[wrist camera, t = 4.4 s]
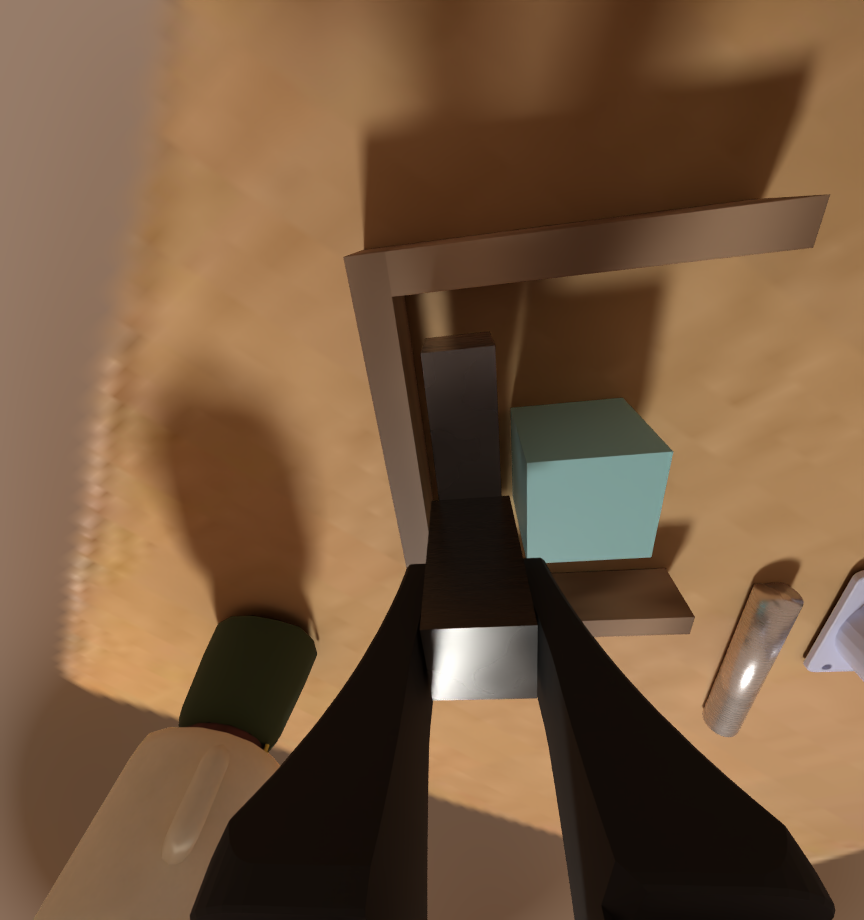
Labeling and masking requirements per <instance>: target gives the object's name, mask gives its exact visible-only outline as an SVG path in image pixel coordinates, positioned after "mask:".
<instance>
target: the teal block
mask: <svg viewBox="0 0 864 920" xmlns="http://www.w3.org/2000/svg"><path fill="white" fill-rule="evenodd" d="M510 410H511V451H512V492H513V500H514V504H515V509H516V514H517V519H518V523H519V528H520V533H521V537H522V542H523V547H524V551H525V556H526V558H540V557H541V558H542V559H543V560H545V563H554V562H573V561H592V560H610V559H629V558H648V557H651V556H652V551H653V546H654V542H655V537H656V532H657V527H658V522H659V518H660V513H661V508H662V503H663V498H664V494H665V489H666V484H667V479H668V474H669V470H670V465H671V460H672V455H673V451H672V450H671V449H670V448H669V446H668V445H667V444H666V443H665V442H664V441H663V440H662V439H661V438H660V437H659V436H658V435H657V434H656V433H655V432H654V431H653V429H652V428H651V427H650V426H649V425H648V424H647V423H646V422H645V421H644V420H643V419H642V418H641V417H640V416H639V415H638V413H637V412H636V411H635V410H634V409H633V408H632V407H631V406H630V405H629V404H628V403H627V402H626V401H625V400H624V399H623V398H613V399H602V400H591V401H580V402H569V403H558V404H547V405H536V406H525V407H514V408H510Z"/></svg>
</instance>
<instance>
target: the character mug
mask: <svg viewBox="0 0 864 920" xmlns="http://www.w3.org/2000/svg"><path fill="white" fill-rule="evenodd" d="M316 656H317V651H316V648H315V644H314V640H313V639H312V638H310V637H309V636H308V635H307V634H306V633H305V632H304V631H303V630H302V629H301V628H300V627H298V626H295V625H291V624H288V623H285V622H281V621H278V620H273V619H268V618H262V617H257V616H232V617H230V618H228V619H226V620H224V621H222V622H220V623H219V624H218V625H217V627H216V629H215V632H214V634H213V636H212V638H211V640H210V642H209V644H208V647H207V649H206V651H205V653H204V655H203V658H202V660H201V662H200V665H199V667H198V670H197V672H196V675H195V677H194V680H193V682H192V685H191V687H190V689H189V692H188V694H187V697H186V699H185V702H184V704H183V707H182V710H181V713H180V717H179V727H169V728H166V729H162V730H159V731H156V732H152V733H149V734H148V736H147V737H146V738H145V739H144V740H143V741H142V742H141V743H140V745H139V746H138V747H137V749H136V750H135V752H134V753H133V755H132V756H131V757H130V759H129V761H128V762H127V764H126V766H125V767H124V769H123V771H122V772H121V774H120V776H119V777H118V779H117V781H116V783H115V784H114V786H113V787H112V789H111V791H110V792H109V794H108V796H107V798H106V799H105V801H104V802H103V804H102V806H101V807H100V809H99V811H98V812H97V814H96V816H95V817H94V819H93V821H92V822H91V824H90V826H89V827H88V829H87V831H86V832H85V834H84V836H83V837H82V839H81V841H80V842H79V844H78V846H77V847H76V849H75V851H74V852H73V854H72V856H71V857H70V859H69V861H68V862H67V864H66V866H65V867H64V869H63V871H62V872H61V874H60V876H59V877H58V879H57V881H56V882H55V884H54V886H53V887H52V889H51V891H50V892H49V894H48V896H47V898H46V899H45V901H44V902H43V904H42V906H41V908H40V909H39V911H38V912H37V914H36V916H35V917H34V919H33V920H190V913H191V910H192V908H193V905H194V902H195V900H196V897H197V894H198V892H199V889H200V886H201V884H202V881H203V878H204V876H205V873H206V871H207V868H208V865H209V863H210V860H211V858H212V856H213V853H214V851H215V849H216V847H217V845H218V843H219V841H220V839H221V836H222V834H223V832H224V830H225V828H226V826H227V824H228V822H229V820H230V819H231V818H232V817H233V816H234V815H235V814H236V812H237V811H238V810H239V809H240V808H241V807H242V806H243V805H244V804H245V803H246V802H247V801H248V800H249V799H250V798H251V797H252V796H253V795H254V794H255V793H256V792H257V791H258V790H259V788H260V787H261V786H262V785H263V784H264V783H265V782H266V781H267V780H268V779H269V778H270V777H271V776H272V775H273V774H274V773H275V771H276V770H277V769H278V768H279V767H280V765H279V764H278V763H277V761H276V760H275V759H274V758H273V757H272V756H271V755H270V754H268V752H269V751H270V750H271V748H272V747H273V746H274V745H275V744H276V742H277V741H278V739H279V737H280V736H281V734H282V732H283V730H284V727H285V725H286V723H287V721H288V719H289V717H290V715H291V713H292V711H293V708H294V706H295V704H296V702H297V700H298V698H299V696H300V694H301V691H302V689H303V687H304V685H305V683H306V680H307V678H308V675H309V673H310V671H311V668H312V666H313V663H314V661H315V658H316Z"/></svg>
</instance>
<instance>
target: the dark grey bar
mask: <svg viewBox="0 0 864 920" xmlns="http://www.w3.org/2000/svg"><path fill="white" fill-rule="evenodd" d="M421 361H422V369H423V377H424V385H425V393H426V401H427V408H428V416H429V424H430V432H431V440H432V448H433V456H434V464H435V472H436V480H437V488H438V496H439V500H437V501H431V511H430V522H429V533H428V544H427V555H426V566H425V577H424V588H423V599H422V610H421V621H420V634H421V639H422V645H423V650H424V656H425V661H426V667H427V672H428V677H429V683H430V688H431V694H432V699H433V700H476V699H524V698H537V646H538V624H537V620H536V615H535V611H534V606H533V602H532V597H531V592H530V588H529V583H528V579H527V574H526V570H525V565H524V560H523V556H522V551H521V547H520V542H519V538H518V533H517V528H516V524H515V519H514V515H513V510H512V505H511V501H510V496H501V474H500V450H499V426H498V402H497V377H496V353H495V344H494V341H493V339H492V337H491V334H490V332H480V333H471V334H462V335H452V336H443V337H434V338H425V341H424V344H423V347H422V350H421Z"/></svg>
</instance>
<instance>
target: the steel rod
mask: <svg viewBox="0 0 864 920" xmlns="http://www.w3.org/2000/svg"><path fill="white" fill-rule="evenodd" d="M802 607H803V599H802V597H801V596H800V594H799V593H798V592H797V591H795V590H794V589H793V588H791V587H790V586H788V585H786V584H784V583H761V584H754V586H753V588H752V591H751V593H750V596H749V598H748V600H747V603H746V605H745V608H744V610H743V613H742V615H741V618H740V620H739V623H738V625H737V628H736V630H735V633H734V635H733V638H732V640H731V642H730V645H729V647H728V650H727V652H726V655H725V657H724V660H723V662H722V665H721V667H720V670H719V672H718V675H717V677H716V679H715V682H714V684H713V687H712V689H711V692H710V694H709V697H708V699H707V702H706V704H705V707H704V709H703V713H702V714H703V719H704V721H705V723H706V724H707V725H708V727H709V728H710V729H711V730H713V731H714V732H715V733H717V734H719V735H721V736H724V737H733V736H735V735H737V734H738V732H739V730H740V728H741V726H742V724H743V722H744V720H745V718H746V716H747V714H748V712H749V710H750V708H751V706H752V704H753V702H754V701H755V699H756V697H757V695H758V693H759V691H760V689H761V687H762V685H763V683H764V681H765V679H766V677H767V675H768V673H769V671H770V669H771V667H772V665H773V663H774V661H775V659H776V657H777V655H778V654H779V652H780V650H781V648H782V646H783V644H784V642H785V640H786V638H787V636H788V634H789V632H790V630H791V628H792V626H793V624H794V622H795V620H796V618H797V616H798V614H799V612H800V610H801V609H802Z"/></svg>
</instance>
